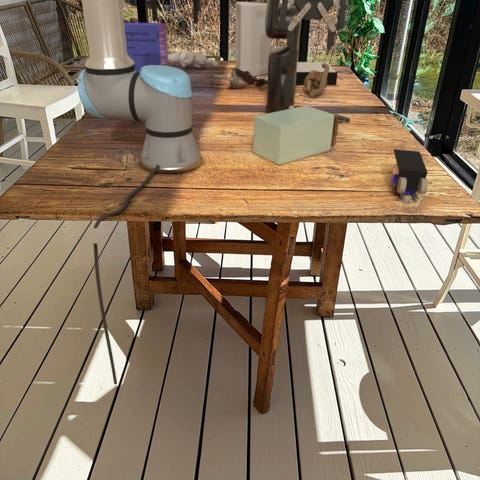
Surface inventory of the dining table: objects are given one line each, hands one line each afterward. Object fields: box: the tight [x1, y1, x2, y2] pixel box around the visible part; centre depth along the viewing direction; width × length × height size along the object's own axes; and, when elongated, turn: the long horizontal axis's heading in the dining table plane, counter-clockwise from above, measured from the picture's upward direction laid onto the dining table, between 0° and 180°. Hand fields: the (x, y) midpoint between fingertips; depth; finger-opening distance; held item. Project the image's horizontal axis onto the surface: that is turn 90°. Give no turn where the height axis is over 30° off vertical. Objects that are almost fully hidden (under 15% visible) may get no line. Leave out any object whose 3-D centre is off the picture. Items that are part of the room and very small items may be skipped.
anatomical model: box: [303, 63, 329, 98], centre depth 183 cm, size 13×9×15 cm
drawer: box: [327, 110, 351, 146], centre depth 132 cm, size 23×10×8 cm, turn 126°
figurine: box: [209, 66, 268, 89], centre depth 190 cm, size 24×8×30 cm
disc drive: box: [296, 61, 338, 86], centre depth 207 cm, size 18×22×5 cm
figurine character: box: [391, 148, 429, 201], centre depth 109 cm, size 7×8×15 cm
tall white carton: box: [234, 1, 272, 77], centre depth 210 cm, size 19×15×28 cm
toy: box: [168, 50, 219, 69], centre depth 223 cm, size 24×25×7 cm
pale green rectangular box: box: [252, 105, 334, 165], centre depth 129 cm, size 19×11×10 cm, turn 126°
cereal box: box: [124, 21, 169, 72], centre depth 181 cm, size 17×5×24 cm, turn 86°
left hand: (175, 21), depth 152 cm, fingers open, 13 cm apart
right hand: (309, 48), depth 109 cm, fingers open, 8 cm apart
